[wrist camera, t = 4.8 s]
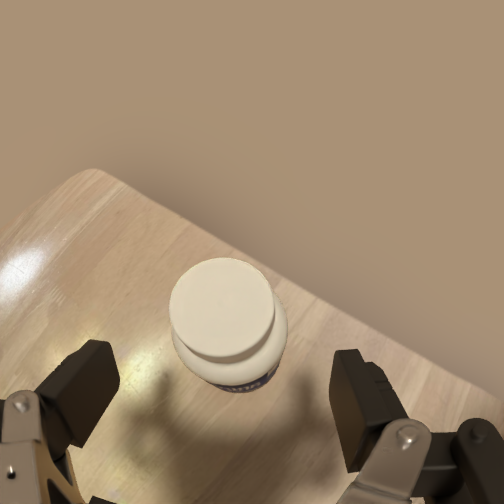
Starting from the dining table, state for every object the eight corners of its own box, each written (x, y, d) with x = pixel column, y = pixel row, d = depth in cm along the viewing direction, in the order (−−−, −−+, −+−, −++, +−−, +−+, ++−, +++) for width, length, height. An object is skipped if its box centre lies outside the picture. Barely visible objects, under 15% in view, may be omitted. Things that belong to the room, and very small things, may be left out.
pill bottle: (189, 378, 18) (128, 344, 10) (216, 309, 21) (184, 228, 12) (266, 404, 17) (269, 397, 9) (289, 330, 20) (309, 260, 11)
